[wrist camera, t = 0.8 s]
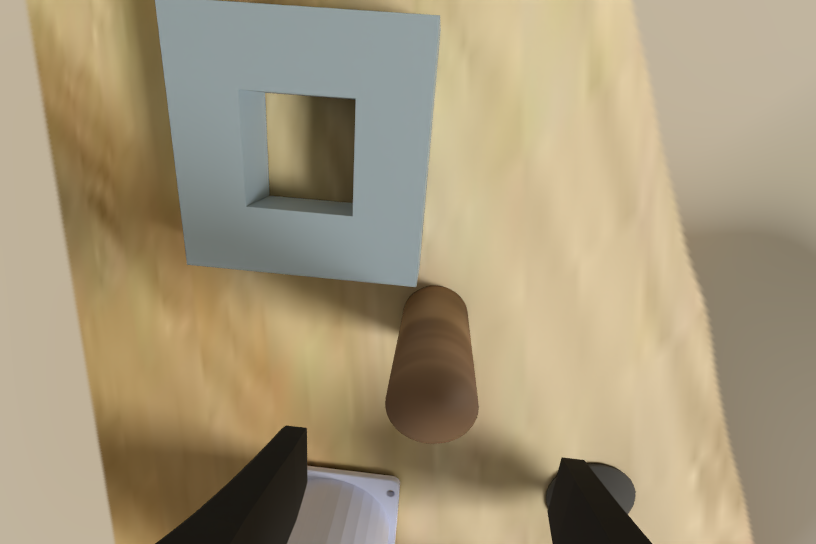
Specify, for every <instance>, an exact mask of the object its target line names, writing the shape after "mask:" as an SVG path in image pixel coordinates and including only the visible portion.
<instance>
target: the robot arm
mask: <svg viewBox="0 0 816 544" xmlns="http://www.w3.org/2000/svg"><path fill="white" fill-rule="evenodd" d="M389 490H392V491H389ZM399 491H400V480H399V479H398V478H397V477H395V476H389V475H381V474H373V473H364V472H356V471H348V470H339V469H331V468H323V467H314V466H307V428H302V427H293V426H285V427H283V428H282V429H281V430H280V431H279V432H278V433H277V434H276V435H275V437H274V438H273V439H272V440H271V441H270V442H269V443H268V444H267V445H266V446H265V447H264V448H263V449H262V450H261V451H260V452H259V453H258V454H257V455H256V456H255V457H254V458H253V459H252V460H251V461H250V462H249V463H248V464H247V465H246V466H245V467H244V468H243V469H242V470H241V471H240V472H239V473H238V474H237V475H236V476H235V477H234V478H233V479H232V480H231V481H230V482H229V483H228V484H227V485H226V486H225V487H223V488H222V489H221V490H220V491H219V492H218V493H217V494H216V495H214V496H213V497H212V498H211V499H210V500H209V501H208V502H207V503H205V504H204V505H203V506H202V507H201V508H200V509H199V510H197V511H196V512H195V513H194V514H193V515H191V516H190V517H189V518H188V519H187V520H185V521H184V522H183V523H182V524H180V525H179V526H178V527H176V528H175V529H174V530H173V531H171V532H170V533H169V534H167V535H166V536H165V537H164V538H162V539H161V540H160V541H158V542H157V543H155V544H395V537H396V525H397V514H398V503H399ZM548 517H549V524H550V530H551V536H552V542H553V544H652V543H651V542H650V541H649V539H648V538H647V537H646V536H645V535H644V534H643V532H642V531H641V530H640V529H639V528H638V526H637V525H636V524H635V523H634V522H633V520H632V519H631V518H630V517H629V516H628V514H627V513H626V512H625V511H624V510H623V508H622V507H621V506H620V505H619V503H618V502H617V501H616V500H615V498H614V497H613V496H612V495H611V493H610V492H609V491H608V490H607V488H606V487H605V486H604V485H603V483H602V482H601V481H600V479H599V478H598V477H597V476H596V474H595V473H594V472H593V471H592V469H591V468H590V467H589V466H588V464H587V463H586V462H585V461H584V460H579V459H570V458H562V459H561V462H560V466H559V470H558V474H557V478H556V481H555V485H554V489H553V493H552V497H551V500H550V504H549V508H548Z"/></svg>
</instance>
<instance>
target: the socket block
mask: <svg viewBox="0 0 816 544" xmlns="http://www.w3.org/2000/svg"><path fill="white" fill-rule="evenodd" d="M155 5H156V13H157V21H158V30H159V38H160V46H161V54H162V62H163V70H164V79H165V87H166V95H167V103H168V111H169V120H170V128H171V136H172V144H173V152H174V161H175V169H176V177H177V185H178V193H179V202H180V210H181V218H182V226H183V234H184V242H185V251H186V259H187V265H196V266H207V267H217V268H227V269H237V270H247V271H257V272H268V273H278V274H288V275H298V276H308V277H318V278H329V279H339V280H349V281H359V282H369V283H380V284H390V285H400V286H410V287H416V286H417V279H418V273H419V266H420V255H421V243H422V232H423V221H424V210H425V198H426V187H427V176H428V164H429V153H430V142H431V130H432V119H433V108H434V96H435V85H436V74H437V62H438V51H439V40H440V16H439V15H424V14H409V13H394V12H380V11H365V10H350V9H335V8H320V7H305V6H290V5H275V4H261V3H246V2H231V1H216V0H155ZM265 93H277V94H290V95H303V96H315V97H328V98H341V99H354V100H356V107H355V145H354V183H353V203H347V202H336V201H325V200H314V199H302V198H291V197H280V196H270V193H269V171H268V149H267V126H266V104H265Z"/></svg>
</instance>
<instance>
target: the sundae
mask: <svg viewBox="0 0 816 544" xmlns="http://www.w3.org/2000/svg"><path fill="white" fill-rule="evenodd" d="M588 466H589V467H590V468H591V469H592V471H593V472H594V473H595V474H596V476H597V477H598V478H599V479H600V481H601V482H602V483H603V485H604V486H605V487H606V488H607V490H608V491H609V492H610V493H611V495H612V496H613V497H614V498H615V500H616V501H617V502H618V503H619V505H620V506H621V507H622V508H623V510H624V511H625V512H626V513H627V514H628V513H629V512H630V510H631V508H632V507H633V505H634V501H635V492H636V491H635V488H634V485H633V483H632V481H631V480H630V478H628V477H627V476H626V475H625V474H624V473H623V472H621V471H620V470H618V469H615V468H613V467H610V466H606V465H602V464H588ZM556 478H557V477H556ZM556 478H555V479H554V480H553V481H552V483H551V484H550V486H549V488H548V490H547V495H546V504H547V506H548V508H549V504H550V500H551V497H552V493H553V489H554V485H555V481H556Z"/></svg>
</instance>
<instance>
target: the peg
mask: <svg viewBox="0 0 816 544" xmlns="http://www.w3.org/2000/svg"><path fill="white" fill-rule="evenodd" d="M385 407H386V412H387V415H388V417H389V419H390V421H391V423H392V424H393V426H394V427H395V428H396V429H397V430H398V431H399V432H401V433H402V434H403V435H405V436H407V437H408V438H410V439H413V440H415V441H419V442H423V443H431V444H437V443H445V442H449V441H452V440H455V439H457V438H459V437H461V436H462V435H463V434H465V433H466V432H467V431H468V430H469V429H470V428H471V427H472V426H473V424H474V422H475V420H476V418H477V415H478V408H479V406H478V396H477V388H476V380H475V371H474V363H473V355H472V346H471V338H470V330H469V322H468V313H467V308H466V305H465V303H464V301H463V300H462V298H461V297H460V296H459V295H458V294H457V293H455V292H454V291H452V290H450V289H448V288H445V287H441V286H429V287H425V288H422V289H420V290H418V291H416V292H415V293H414V294H412V295H411V296H410V298H409V299H408V300H407V302H406V304H405V307H404V311H403V316H402V321H401V326H400V331H399V336H398V340H397V345H396V350H395V355H394V360H393V365H392V370H391V375H390V380H389V385H388V390H387V395H386V401H385Z"/></svg>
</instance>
